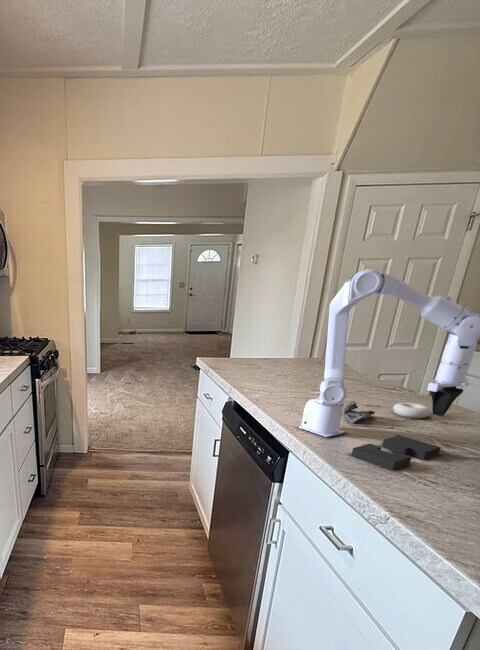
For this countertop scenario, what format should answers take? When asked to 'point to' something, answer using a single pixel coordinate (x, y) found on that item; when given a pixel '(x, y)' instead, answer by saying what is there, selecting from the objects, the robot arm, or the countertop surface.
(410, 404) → the donut
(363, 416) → the snack package
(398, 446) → the tab pad
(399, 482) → the countertop surface
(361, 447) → the base pad
